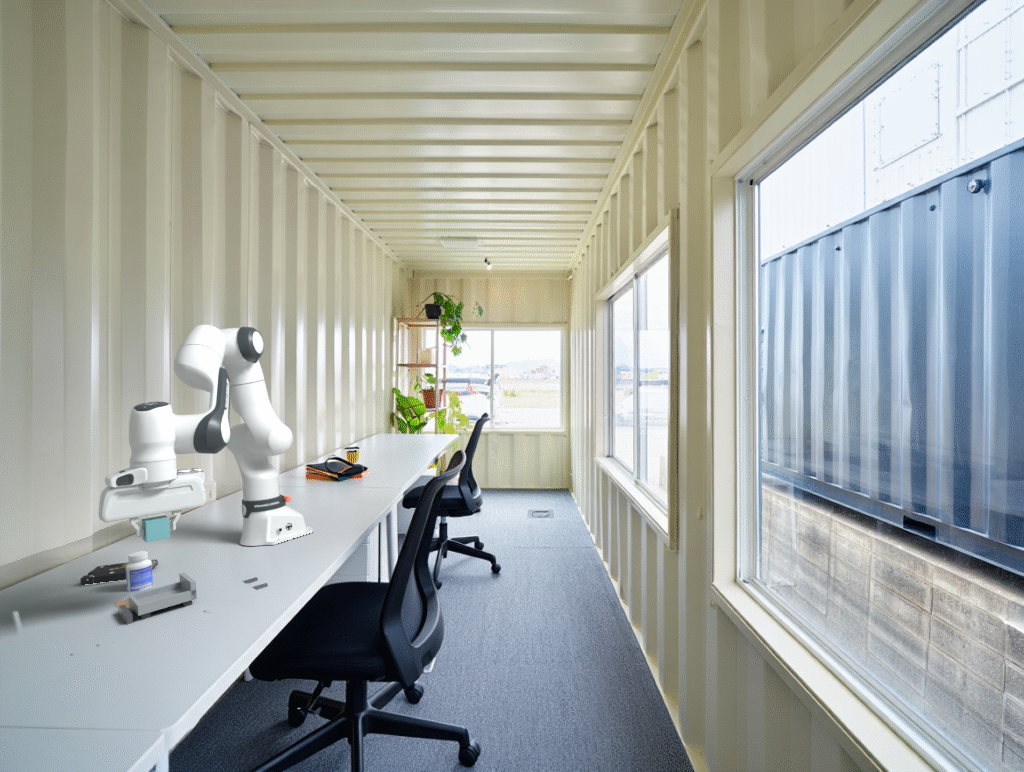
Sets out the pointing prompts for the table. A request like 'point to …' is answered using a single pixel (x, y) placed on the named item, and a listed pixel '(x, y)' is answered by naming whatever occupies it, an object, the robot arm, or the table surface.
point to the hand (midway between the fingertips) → (156, 533)
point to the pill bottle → (139, 571)
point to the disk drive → (109, 573)
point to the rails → (127, 614)
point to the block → (156, 528)
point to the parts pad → (122, 603)
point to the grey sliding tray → (164, 596)
